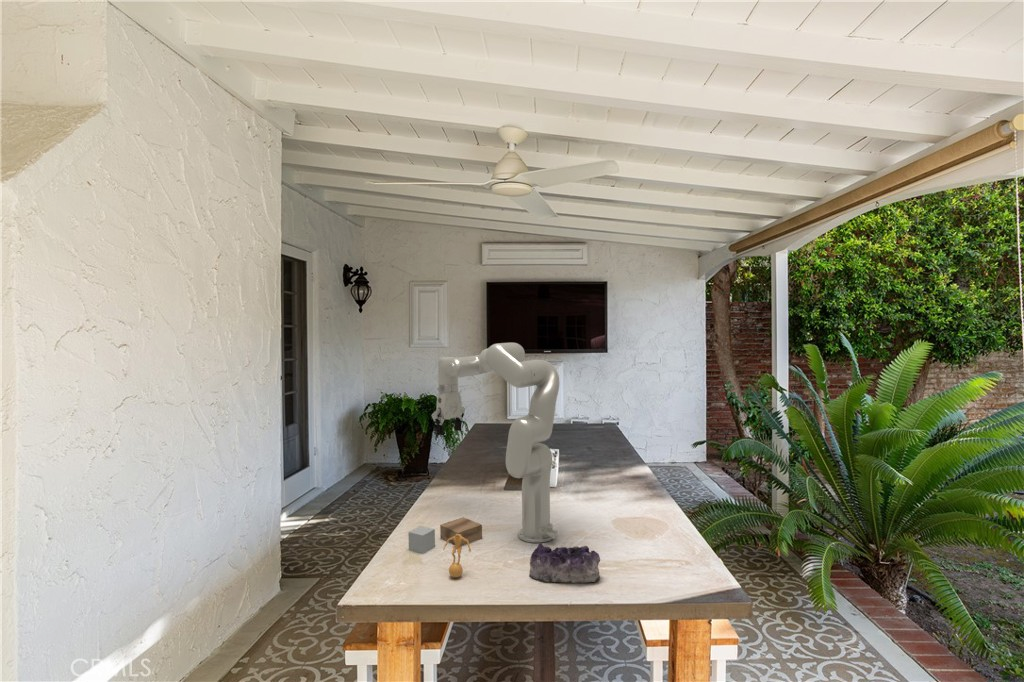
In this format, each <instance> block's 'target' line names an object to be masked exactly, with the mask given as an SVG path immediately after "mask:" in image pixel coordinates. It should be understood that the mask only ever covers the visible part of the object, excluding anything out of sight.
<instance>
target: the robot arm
mask: <svg viewBox="0 0 1024 682" xmlns="http://www.w3.org/2000/svg"><path fill="white" fill-rule="evenodd" d="M525 356H526V352H525V349H524V347H523V346H522V345H521V344H519V343H517V342H501V343H500V342H499V343H493V344H492V345H490V346H489V347H488V348H485V349H483V350H482V351H481V352H480V354H477V355H469V356H459V357H456V356H455V357H454V356H441V357H439V358H438V360H437V372H438V373H437V374H438V375H437V377H438V378H437V379H438V387H437V391H438V393H437V395H436V396H437V397H436V409H435V411H433V413H432V414H431V417H432V421H433V422H434V424H435V425H436V435H437V436H444V435H445V434H444V433H445V429H444V428H445V426H444V421H445V420H451V419H455V420H453V421H454V431H458V432H461V431H462V421H463V419H464V416H465V411H466V408H465V407H463V402H462V397H461V396H462V395H461V392H460V391H459V378H464V377H471V376H472V377H473V376H478V375H482V374H487V373H492V372H495V373H496V374H497V375H499V377H501V378H503V380H504V381H505V382H507V383H508V384H510V385H511V386H512V387H515V388H518V389H519V388H520V389H521V388H527V387H535V390H534V392H533V393H532V396H531V398H530V402H529V410H528V413H527V415H524V416H520V417H518V418H516V419H514V421H513V422H512V424H511V425H510V428H509V430H508V435H507V436H508V437H507V444H506V450H505V451H506V452H505V467H506V470H507V472H508V474H509V475H510V476H511V477H512V478H515V479H522V480H521V481H522V483H521V515H522V516H521V519H522V520H521V522H522V523H521V525H522V527H521V528H520V529H519V530H518V532H517V536H518V538H519V539H520V541H521V540H522V541H523V542H527V543H534V544H536V543H537V544H538V543H539V544H540V543H541V544H542V543H545V542H550V541H552V540H555V539H556V538H557V536H558V534H559V531H558V530H556V529H553V524H552V523H551V494H550V493H551V471H552V465H553V454H552V451H551V449H550V447H549V446H547V445H546V444H544V443H542V442H545V441H547V440H549V439H550V438H551V436H552V433H553V428H554V420H555V413H556V404H557V398H558V394H559V391H560V375H559V373H558V371H557V369H556V367H555V366H554V365H553V364H552V363H551V362H549V361H547V360H544V359H531V360H524V359H525Z"/></svg>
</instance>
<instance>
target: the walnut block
mask: <svg viewBox="0 0 1024 682" xmlns="http://www.w3.org/2000/svg"><path fill="white" fill-rule="evenodd" d="M439 527H440V530H439V531H440V539H441V540H442V541H445V542H447V540H448V539H449V538H452V537H453V536H456V534H461V536H462V537H464V538H465V539H467V540H468V541H469V544H472V543H474V542H475V541H479V540H481V539H483V524H482V523H479V522H476V521H474V520H471V519H469V518H467V517H464V516H462V517H459V518H456V519H454V520H451V521H448V522H445V523H441V524H440V526H439ZM449 543H450V544H451V545H453V546H455V542H454V539H453V540H449V542H448V544H449ZM467 545H468V544H467V542H466V541H464V540H462V541H461V544H460V546H461V547H464V546H467Z"/></svg>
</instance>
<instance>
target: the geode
mask: <svg viewBox="0 0 1024 682" xmlns="http://www.w3.org/2000/svg"><path fill="white" fill-rule="evenodd" d="M529 559H530V560H529V567H530V569H529V575H528V576H529V578H530V579H532V580H535V581H538V582H541V583H568V584H569V583H572V584H576V583H577V584H581V583H584V584H585V583H593V582H597V581H599V580H600V579H601V574H600V569H599V564H600V562H601V558H600V554H599V553H598V552H597V551H595V550H591V551H590V548H589V546H588V545H582V546H580V547H579V546H578V545H577V546H572V547H567V546H561V547H560V546H559V547H558V546H557V547H555V548H554V549H552V547H550V546H546V545H544V544H543V543H542V542H541V543H539V544H538V545H537V547H536V548H535V549H534V550H533V552H532V553H531V555H530V558H529Z"/></svg>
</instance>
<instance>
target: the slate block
mask: <svg viewBox="0 0 1024 682" xmlns="http://www.w3.org/2000/svg"><path fill="white" fill-rule="evenodd" d="M435 529H436V528H435ZM435 529H434V528H431V527H427V526H424V525H423V526H422V525H419V526H418V527H415V528H414V529H412V530H410V531H408V532H407V533H408V534H407V535H408V551H411V552H415V553H417V554H418V553H419V554H422V555H424V554H425V553H427V552H429V551H431V550H432V549H434V548H435V547H436V532H435V531H436V530H435Z"/></svg>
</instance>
